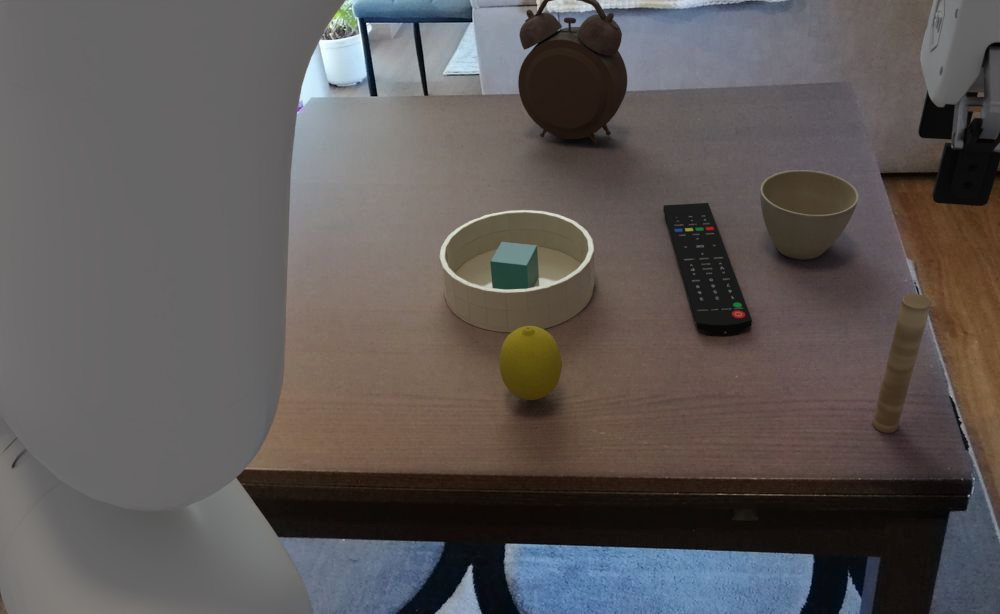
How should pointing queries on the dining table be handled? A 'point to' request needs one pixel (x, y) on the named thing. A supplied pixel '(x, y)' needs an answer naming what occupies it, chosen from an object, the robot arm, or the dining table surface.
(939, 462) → the dining table surface
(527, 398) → the lemon
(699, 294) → the remote control
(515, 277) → the block
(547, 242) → the bowl
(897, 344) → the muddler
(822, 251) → the flower pot
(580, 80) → the alarm clock
